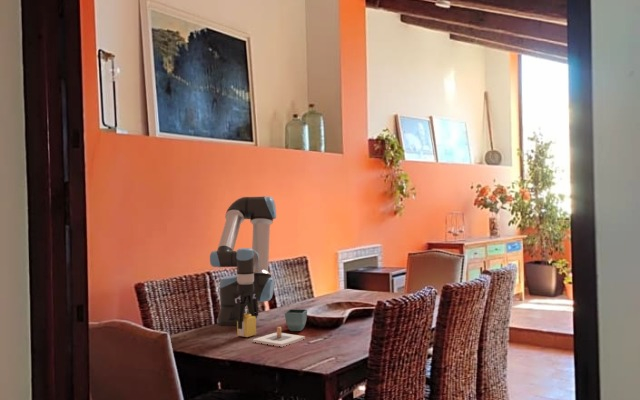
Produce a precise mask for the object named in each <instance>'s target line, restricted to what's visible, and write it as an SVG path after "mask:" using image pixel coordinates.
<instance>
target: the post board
mask: <svg viewBox="0 0 640 400" xmlns="http://www.w3.org/2000/svg"><path fill="white" fill-rule="evenodd" d="M303 339H304V340H306V336H305V335H300V334H299V335H298V334H291V333H286V332H282V326H277V327H276V332H273V333H270V334H266V335H262V336H261V337H256V338H254V339H252V343H255V342H256V344H261V343H262V345H267V344H268V346H273V345H274V346H273V347H279V346H280V347H281V348H283V346H284V347H286V345H287V346H290V345H292V344H295V343H298V342H301V341H303ZM289 344H290V345H289ZM280 347H279V348H280Z"/></svg>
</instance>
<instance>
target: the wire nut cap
mask: <svg viewBox="0 0 640 400" xmlns="http://www.w3.org/2000/svg"><path fill="white" fill-rule="evenodd" d="M240 319H241V318H240ZM243 321H244V336H243V337H245V338H248V337H252V336H255V335H257V318H256V316H251V314H249V312H247V313H245V314H244V317H243ZM236 331H237V333H236V335H237V336H238V337H240V336H239V329H238V321H237V325H236Z"/></svg>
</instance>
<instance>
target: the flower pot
mask: <svg viewBox="0 0 640 400" xmlns="http://www.w3.org/2000/svg"><path fill="white" fill-rule="evenodd" d="M284 318H285V319H284V320H285V324H286V326H287V328H288V329H289V331H291V332H301V331H302V330H303V329H304V328H305V325H306V323H307V318H308V309H306V308H305V309H304V308H303V309H301V308H299V309H295V308H294V309H293V308H292V309H291V308H290V309H288V310H287V311H285V312H284Z"/></svg>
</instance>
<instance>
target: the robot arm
mask: <svg viewBox="0 0 640 400" xmlns="http://www.w3.org/2000/svg"><path fill="white" fill-rule="evenodd" d="M276 208H277V207H276V204H275V200H274V198H273V197H272V196H264V195H263V196H243V197H242V196H241V197H239V198H238V199H236V200H235V201H233V202H232V203H231V204H230V205H229V207H228V208H227V210H226V213H225V216H224V217H225V222H224V226H223V229H222V233H221V236H220V238H219V244H218V246H217V250H214V251H213V250H212V251H211V252H210V255H209V263H210V266H211V267H212V268H236V274H235V275H230V276H226V277H223V278H221V279H220V282H219V298H220V299H219V300H220V301H219V302H220V305H219V306H220V307H219V312H218V317H216V323H217V325H218V326H219V325H220V326H237V321H238V329H239V336H238V337H244V321H243V317H244V314H245V313H246V307H247V311H248V313H249V314H251V316H256V319H257V317H258V316H259V308H258V307H259V306H258V305H259V304H258V303H259V302H260V303H262V302H269V301H271V299H272V298H273V295H274V291H275V290H274V289H275V279H274V277H272V274H271V273H270V271H269V263H270V262H269V258H270V254H269V253H270V234H271V233H270V232H271V230H270V227H271V225H272V224H273V223H274V220H276V219H277V209H276ZM245 220H250V223H251V225H252V240H251V242H252V243H251V245H252V246H251V247H243V248H241V247H240V248H238V249H237V250H235V246H236V243H237V239H238V235H239V232H240V229H241V225H242V223H243V222H244V221H245ZM240 318H241V319H240Z"/></svg>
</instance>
